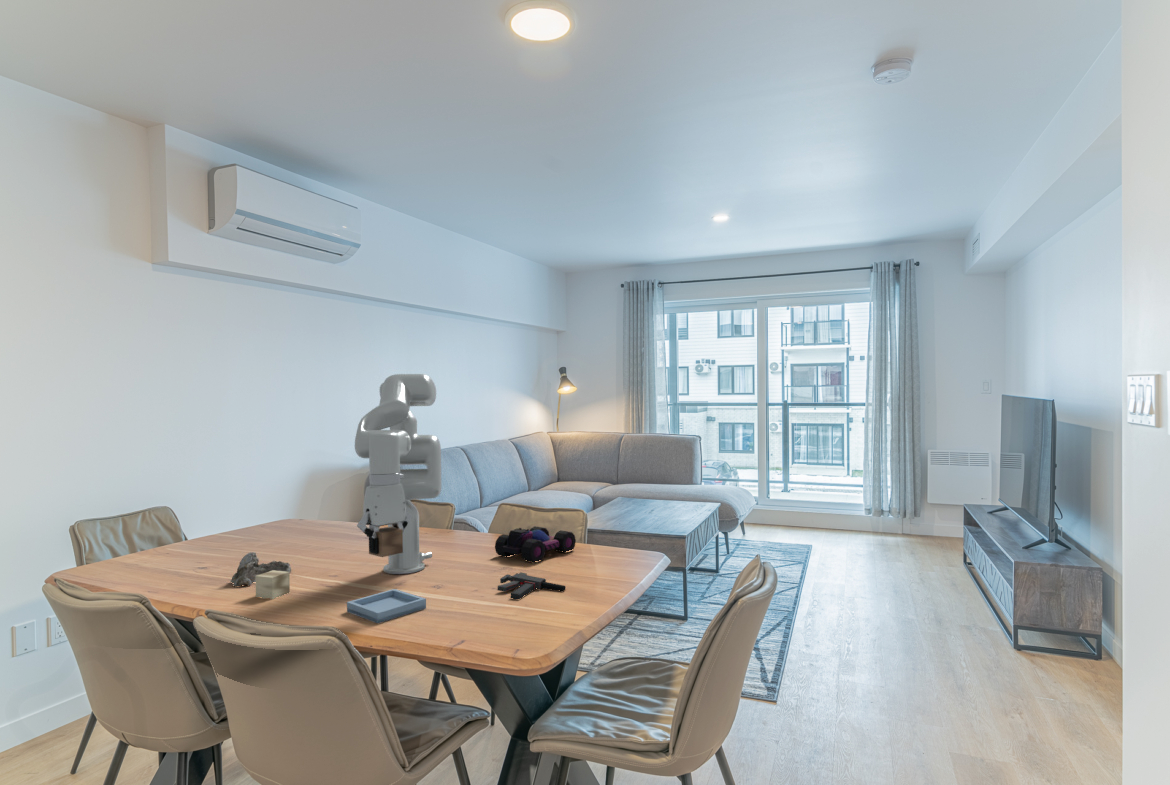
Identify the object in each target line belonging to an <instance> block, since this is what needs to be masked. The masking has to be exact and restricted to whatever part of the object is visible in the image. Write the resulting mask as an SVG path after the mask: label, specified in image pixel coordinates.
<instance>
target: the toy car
mask: <svg viewBox="0 0 1170 785" xmlns="http://www.w3.org/2000/svg"><path fill="white" fill-rule="evenodd" d="M576 540H577V539H576V536H575V534H574V532H573V531H567V530H558V531H557V532H556V533H555V534H554V535H553V536H552V535H550V532H549V530H548V529H547V528H546V527H540V526H536V525H535V526H533V527H531V528H530V529H529V528H527V529H526V528H522V527H518V528H515V529H514V528H513V529H512V530H510V531H509V532H508V534H503V533H502V534H500V535H499V536H498V537H497V539H496V540H495V543H494V544H495V545H494V549H495V553H496V554H497V555H498V556H499V555H502V556H501V557H503V556H506V557H505V558H508V557H507V556H510V555H514V554H515V555H519V554H521V558H522V560H524V561H525V560H527V561H526V562H528V561H532V562H535V561H539V560H541V561H542V560H543V559H544V557H545V554H546V552H547V551H550V550H553V549H554V550H555V551H556V550H557V551H563V552H566V551H569V550H572V549H573V550H574V549H575V547H576V544H577V543H576ZM557 551H556V552H557ZM563 552H562V553H563ZM515 555H514V556H515ZM532 562H531V563H532Z"/></svg>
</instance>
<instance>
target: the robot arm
mask: <svg viewBox="0 0 1170 785" xmlns="http://www.w3.org/2000/svg"><path fill="white" fill-rule="evenodd" d="M379 396H380V399H379V404H378V405H376V406H375V407H374V408H372V409H371V410H369V411H368V412H367V413H366V414H365V415H364V416H363V417H361V419H360V421H359V423H358V424H357V429H356V433H355V436H354V437H355V439H354V450H355V451H354V452H355V453H356V455H357V456H358V457H359V458H361V459H369V467H368V469H369V476H368V477H369V486H366V487H365V491H364V492H365V493H364V497H363V505H362V506H363V507H362V508H363V509H362V517H361V519H360V520H359V522H358V523H357V524H356V528H358V529H359V530H360V531H362V533H364V535H365V536H366V537H367V538H368V551H369V550H370V553H374V554H378V553H379V539H378V538H377V534H378V531H379V528H381V527H384V526H387V527H394V528H399V529H403V553H399V554H395V555H390V556H387V557H388V563H387V564H385V565H383V567H382V569H383V572H384V573H386V574H390V575H405V574H407V575H408V574H413V573H416V572H420V571H423V569H424V568H425V565H426V564H425V562H424V561H425V560H428V559H432V557H433V553H432V552H431V551H428V552H420V513H419V511H418V508H417V507H416V505H414V504H413V502H412V500H423V499H424V500H426V499H428V500H429V499H435V498H437V497H439V495H440V494H441V491H442V452H441V451H442V448H441V442H440V440H439V438H438V437H437V436H436V435H433V434H418V421H417V418H416V416H415V415H414V413H413V412H412V411H411V410H410V408H411V407H431V406H432V405H434V403H435V401H436V399H437V389H436V385H435V382H434V380H433V379H432V378H431V377H430V376H429V375H428V374H424V373H399V374H398V373H396V374H392V375H389V376H388V377H386V378H385V379H384V381H383V382H382V383H381V384H380V386H379ZM388 428H389V429H388ZM405 465H406V466H410V465H411V466H414V465H415V466H416V465H418V466H419V465H424V466H426V468H405V469H404V468H403V469H402V468H401V466H405ZM367 526H369V527H367Z"/></svg>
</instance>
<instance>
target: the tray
mask: <svg viewBox="0 0 1170 785" xmlns="http://www.w3.org/2000/svg"><path fill="white" fill-rule="evenodd" d="M425 609H427V598H425V597H422V596H419V595H415V594H412V593H410V592H406V591H403V590H401V589H396V588H393V589H389V590H386V591H381V592H379V593H375V594H371V595H368V596H365V597H361V598H356V599H353V600H350V601H349V600H348V601H347V602H346V613H349V614H350V615H351V614H352V615H353V616H356V617H360V618H362V619H364V620H368V621H370V622H373V623H376V624H381V623H385V622H387V621H388V622H389V621H391V620H393V619H397V618H400V617H403V616H405V615H406V616H407V615H409V614H412V613H415V612H419V611H423V610H425Z"/></svg>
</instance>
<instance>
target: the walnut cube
mask: <svg viewBox="0 0 1170 785" xmlns="http://www.w3.org/2000/svg"><path fill="white" fill-rule="evenodd" d="M377 538H378V539H379V553H378V554H374V553H370V550H369V549H368V554H369V555H372V556H376V557H378V558H379V557H380V558H385V557H388V556H390V555H395V554H399V553H403V529H399V528H394V527H388V526H385V527H384V526H383V527H379V531H378V534H377Z"/></svg>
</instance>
